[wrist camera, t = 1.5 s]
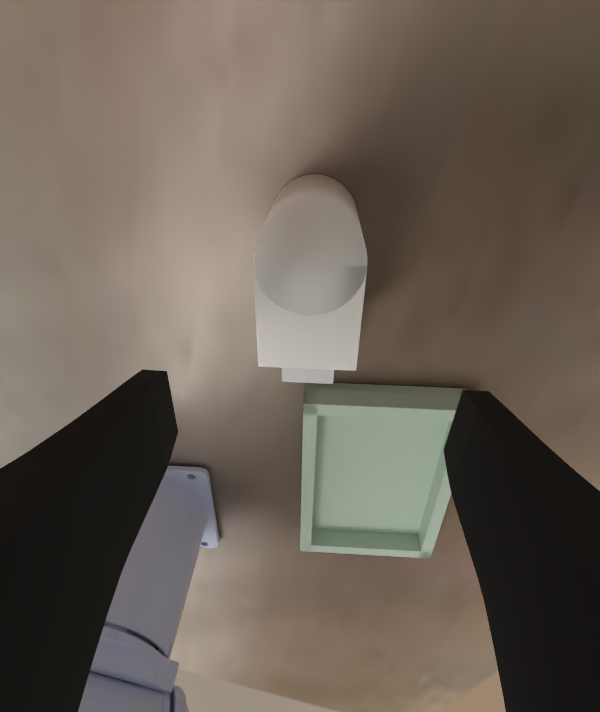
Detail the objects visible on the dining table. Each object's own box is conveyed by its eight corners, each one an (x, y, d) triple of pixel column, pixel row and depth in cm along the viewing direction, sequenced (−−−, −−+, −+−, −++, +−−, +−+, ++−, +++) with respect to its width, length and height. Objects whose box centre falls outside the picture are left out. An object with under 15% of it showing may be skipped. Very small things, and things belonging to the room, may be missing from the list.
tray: (301, 526, 29) (300, 551, 27) (304, 381, 22) (303, 403, 20) (424, 533, 28) (430, 558, 27) (467, 388, 21) (478, 411, 20)
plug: (346, 345, 20) (351, 412, 16) (273, 342, 21) (260, 408, 16) (361, 175, 16) (373, 206, 12) (269, 173, 16) (250, 203, 12)
